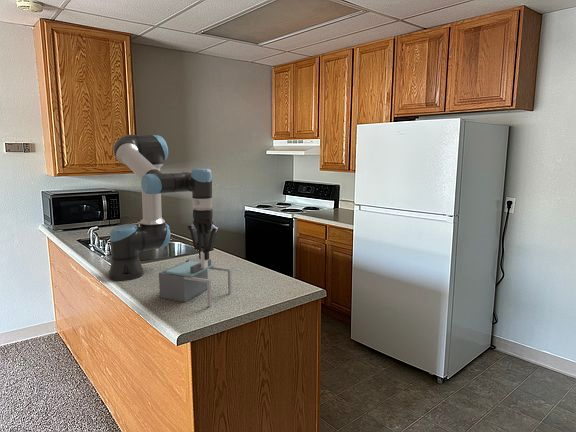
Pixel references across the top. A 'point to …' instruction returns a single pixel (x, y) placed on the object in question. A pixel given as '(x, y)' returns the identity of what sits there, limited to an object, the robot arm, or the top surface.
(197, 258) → the electrical switch
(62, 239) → the top surface
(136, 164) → the robot arm
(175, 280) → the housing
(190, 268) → the lid
